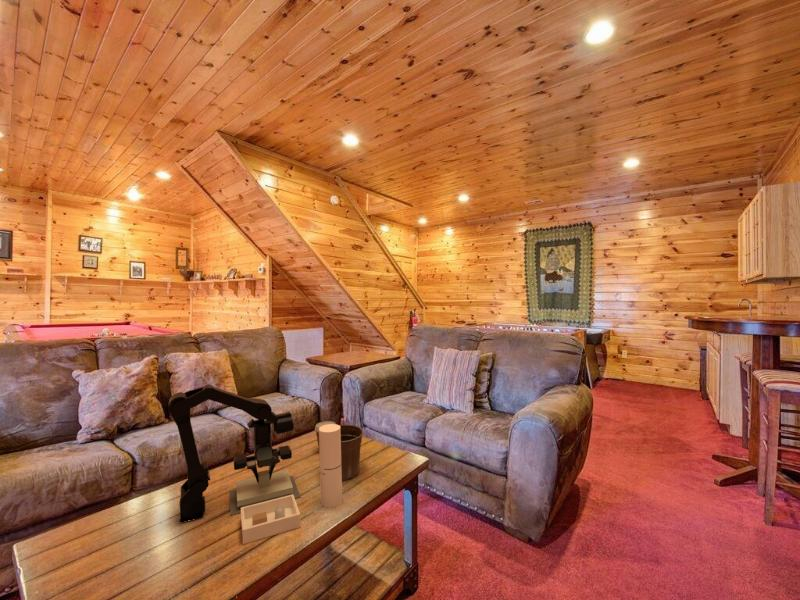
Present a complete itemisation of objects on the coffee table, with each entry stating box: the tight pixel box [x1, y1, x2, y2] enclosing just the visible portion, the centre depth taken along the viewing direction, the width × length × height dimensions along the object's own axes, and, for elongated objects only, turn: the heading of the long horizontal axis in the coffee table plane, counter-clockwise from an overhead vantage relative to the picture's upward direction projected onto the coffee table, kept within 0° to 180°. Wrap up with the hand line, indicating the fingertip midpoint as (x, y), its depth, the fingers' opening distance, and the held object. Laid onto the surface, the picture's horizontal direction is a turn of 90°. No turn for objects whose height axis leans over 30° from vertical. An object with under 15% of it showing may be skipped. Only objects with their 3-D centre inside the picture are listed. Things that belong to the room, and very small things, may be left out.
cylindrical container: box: [318, 424, 343, 508], centre depth 123 cm, size 7×7×25 cm
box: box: [240, 494, 302, 545], centre depth 112 cm, size 16×12×4 cm
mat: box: [229, 475, 301, 517], centre depth 129 cm, size 22×16×1 cm
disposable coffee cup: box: [314, 420, 336, 448], centre depth 161 cm, size 10×10×12 cm
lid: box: [235, 469, 293, 507], centre depth 128 cm, size 18×14×6 cm
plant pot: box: [338, 424, 364, 482], centre depth 142 cm, size 16×16×16 cm
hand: (263, 480), depth 128 cm, fingers closed on lid, 3 cm apart
